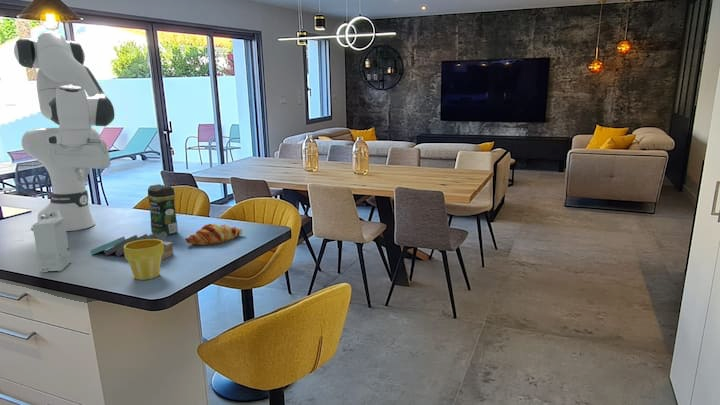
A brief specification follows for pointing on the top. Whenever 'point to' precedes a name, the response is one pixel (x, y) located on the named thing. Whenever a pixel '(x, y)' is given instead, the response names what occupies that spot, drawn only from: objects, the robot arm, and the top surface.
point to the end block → (167, 250)
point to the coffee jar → (162, 209)
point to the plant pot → (144, 257)
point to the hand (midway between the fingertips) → (82, 181)
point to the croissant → (214, 234)
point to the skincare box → (51, 244)
